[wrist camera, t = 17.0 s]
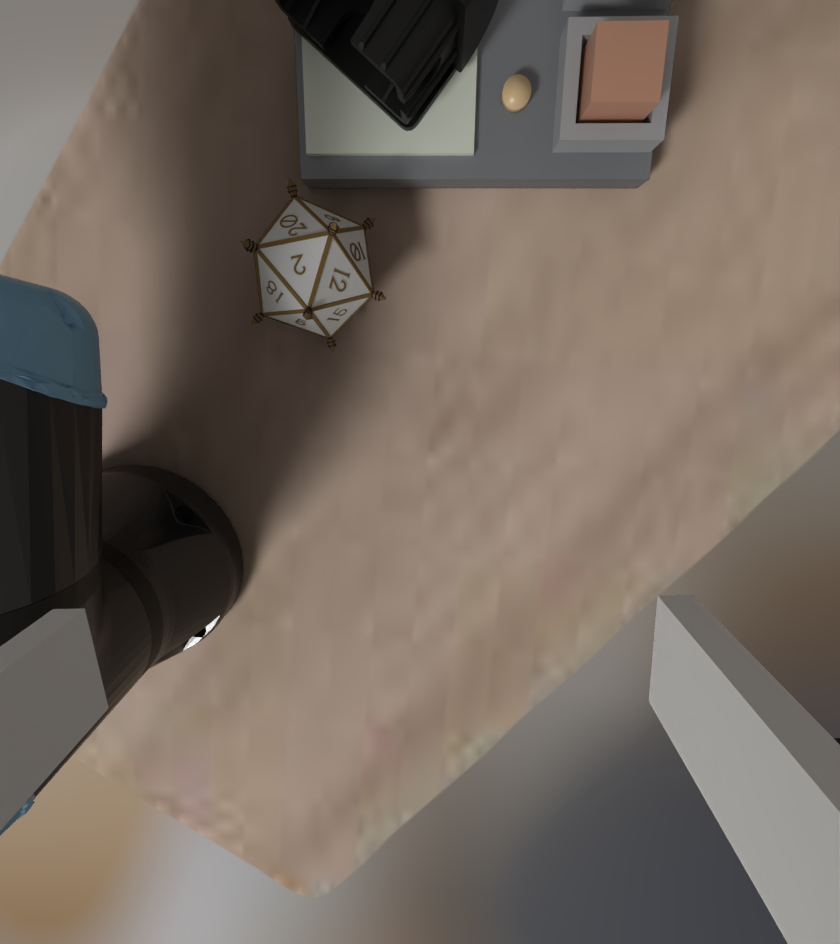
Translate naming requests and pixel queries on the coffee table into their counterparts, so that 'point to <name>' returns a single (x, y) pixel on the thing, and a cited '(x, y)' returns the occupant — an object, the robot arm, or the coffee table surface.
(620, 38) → the terracotta switch
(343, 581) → the coffee table surface
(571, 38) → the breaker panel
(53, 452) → the robot arm
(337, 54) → the end cap
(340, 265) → the game die
